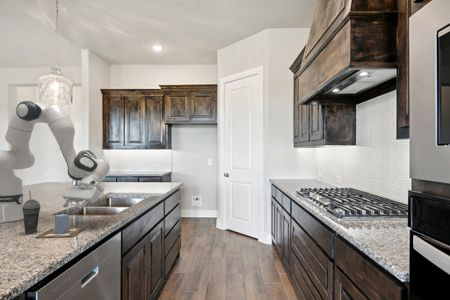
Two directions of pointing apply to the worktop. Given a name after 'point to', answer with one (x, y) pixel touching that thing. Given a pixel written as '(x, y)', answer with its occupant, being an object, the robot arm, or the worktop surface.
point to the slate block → (61, 223)
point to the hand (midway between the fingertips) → (71, 207)
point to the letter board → (52, 234)
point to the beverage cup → (31, 215)
